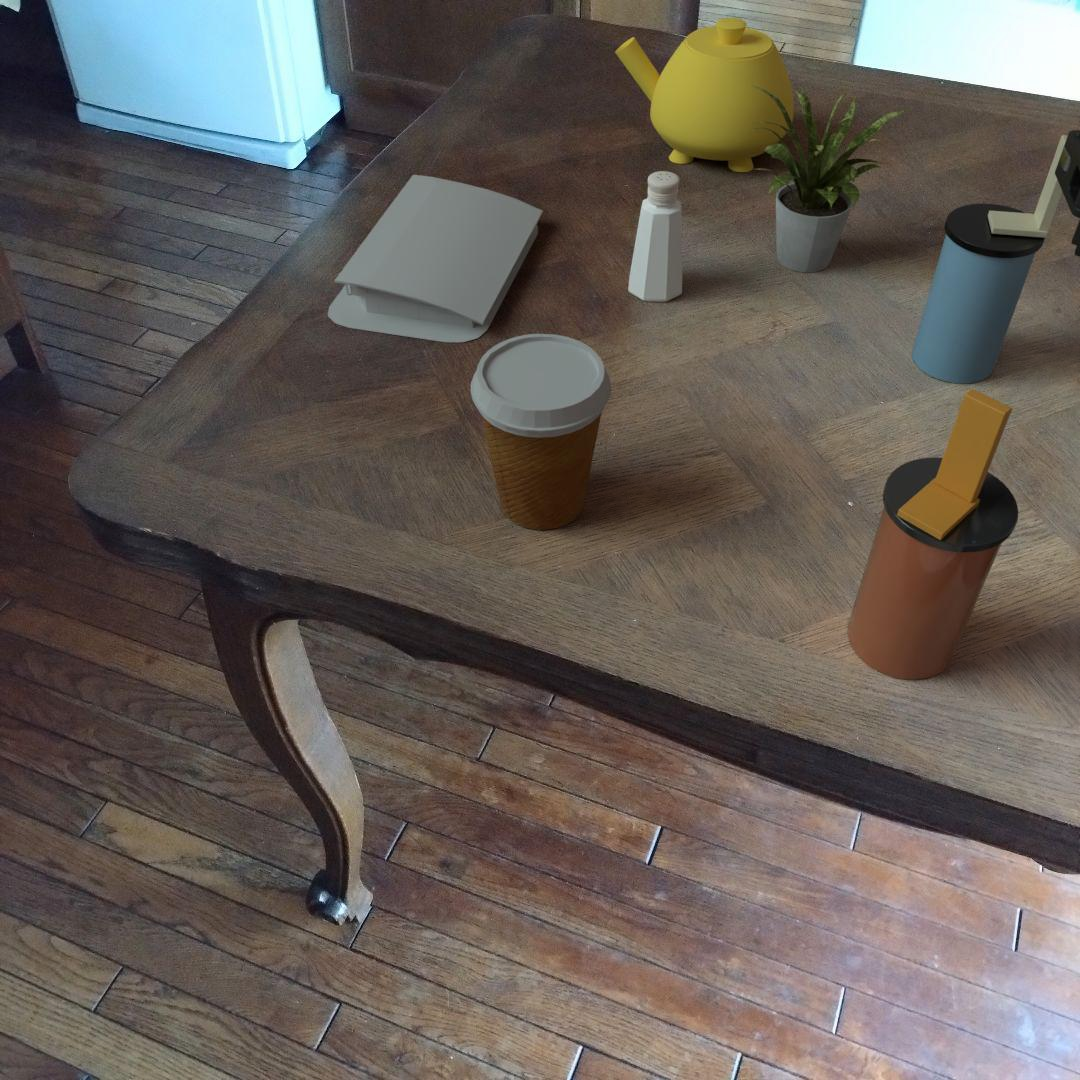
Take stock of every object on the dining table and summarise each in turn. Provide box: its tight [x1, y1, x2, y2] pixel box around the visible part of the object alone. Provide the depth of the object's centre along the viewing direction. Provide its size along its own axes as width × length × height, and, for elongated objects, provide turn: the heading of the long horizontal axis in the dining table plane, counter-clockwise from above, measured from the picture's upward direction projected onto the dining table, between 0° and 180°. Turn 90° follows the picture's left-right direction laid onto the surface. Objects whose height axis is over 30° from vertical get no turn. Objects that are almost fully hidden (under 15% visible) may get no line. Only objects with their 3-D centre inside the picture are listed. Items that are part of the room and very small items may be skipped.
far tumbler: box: [911, 203, 1046, 385], centre depth 87 cm, size 7×7×13 cm
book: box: [327, 174, 544, 344], centre depth 101 cm, size 15×23×4 cm, turn 165°
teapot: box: [614, 17, 795, 173], centre depth 115 cm, size 20×16×14 cm
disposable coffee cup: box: [470, 333, 612, 531], centre depth 75 cm, size 10×10×12 cm
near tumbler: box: [847, 456, 1019, 681], centre depth 65 cm, size 7×7×13 cm
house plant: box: [751, 85, 908, 273], centre depth 97 cm, size 14×14×16 cm
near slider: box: [897, 388, 1013, 540], centre depth 58 cm, size 4×3×7 cm
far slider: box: [988, 134, 1068, 239], centre depth 80 cm, size 4×3×7 cm
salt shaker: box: [627, 170, 683, 303], centre depth 96 cm, size 5×5×11 cm
